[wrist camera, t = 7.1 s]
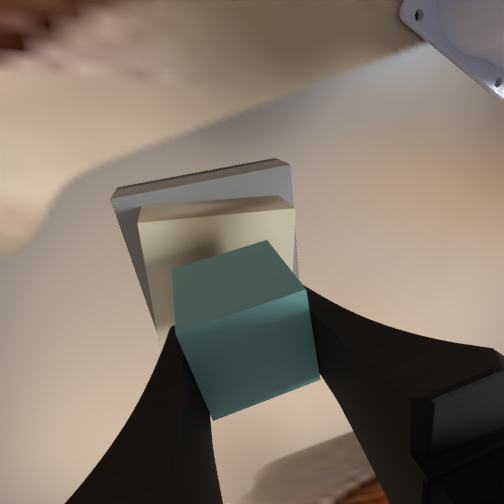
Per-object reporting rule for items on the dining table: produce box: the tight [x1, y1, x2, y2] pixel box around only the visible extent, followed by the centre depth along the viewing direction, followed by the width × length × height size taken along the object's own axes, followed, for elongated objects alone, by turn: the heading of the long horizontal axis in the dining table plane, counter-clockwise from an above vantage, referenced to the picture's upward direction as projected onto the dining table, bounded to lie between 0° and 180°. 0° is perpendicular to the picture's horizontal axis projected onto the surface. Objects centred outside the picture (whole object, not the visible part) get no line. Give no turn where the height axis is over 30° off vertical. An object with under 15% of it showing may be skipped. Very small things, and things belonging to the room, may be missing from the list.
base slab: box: [111, 158, 299, 331], centre depth 18 cm, size 9×9×2 cm
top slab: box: [137, 195, 296, 352], centre depth 16 cm, size 7×7×2 cm
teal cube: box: [172, 240, 320, 421], centre depth 12 cm, size 4×4×4 cm
